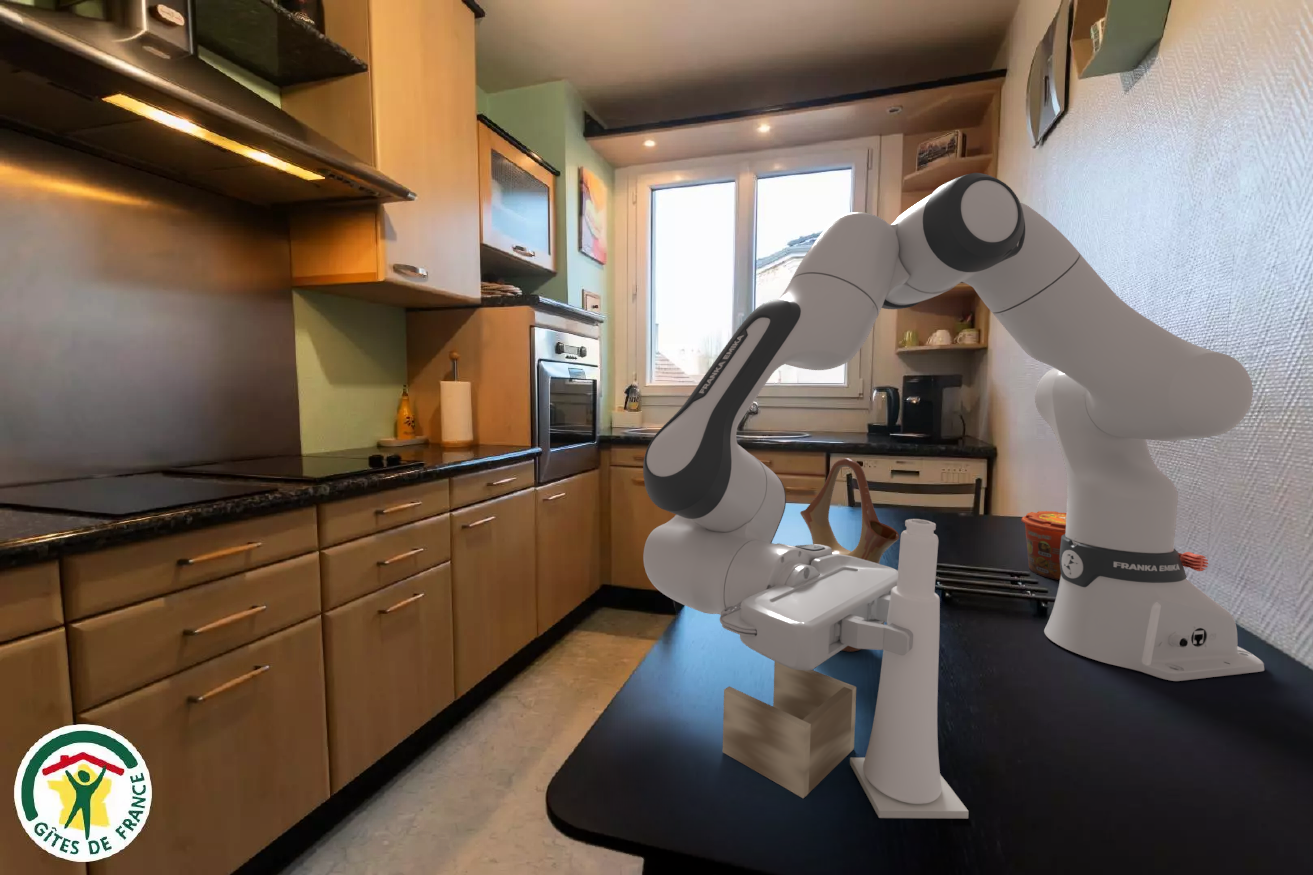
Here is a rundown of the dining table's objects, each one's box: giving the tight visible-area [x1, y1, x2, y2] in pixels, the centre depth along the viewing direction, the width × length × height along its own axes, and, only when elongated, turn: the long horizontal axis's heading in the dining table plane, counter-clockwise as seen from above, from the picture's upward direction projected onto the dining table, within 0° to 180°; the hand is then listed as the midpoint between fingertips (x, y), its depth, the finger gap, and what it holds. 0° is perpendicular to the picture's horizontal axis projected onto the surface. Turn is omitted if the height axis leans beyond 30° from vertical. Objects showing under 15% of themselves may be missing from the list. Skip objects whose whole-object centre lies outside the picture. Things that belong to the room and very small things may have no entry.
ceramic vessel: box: [799, 457, 900, 653], centre depth 73 cm, size 16×9×25 cm, turn 24°
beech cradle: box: [722, 661, 857, 799], centre depth 51 cm, size 8×9×6 cm
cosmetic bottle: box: [863, 518, 942, 804], centre depth 46 cm, size 6×6×22 cm
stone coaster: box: [849, 757, 969, 819], centre depth 46 cm, size 7×6×1 cm
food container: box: [1021, 510, 1066, 581], centre depth 105 cm, size 16×16×11 cm
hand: (921, 634), depth 45 cm, fingers closed on cosmetic bottle, 3 cm apart
